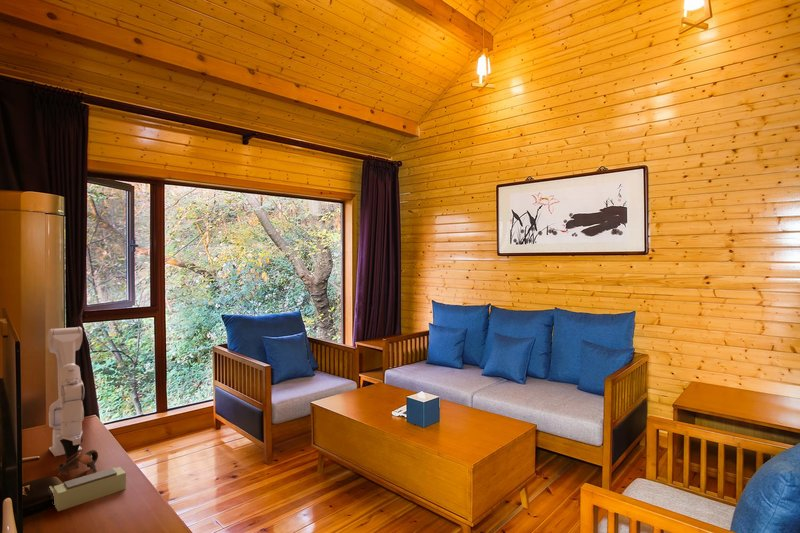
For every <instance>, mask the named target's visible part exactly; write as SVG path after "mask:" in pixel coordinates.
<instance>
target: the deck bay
mask: <svg viewBox="0 0 800 533" xmlns="http://www.w3.org/2000/svg"><path fill="white" fill-rule="evenodd" d="M49 488H50V490H51V491H52V493H53V496H54V504H53V506H54V505H55V506H54V508H55V509H56V510H57V512H61V511H64V510H67V509H70V508H72V507H76V506H79V505H81V504H85V503H88V502H91V501H94V500H97V499H101V498H103V497H107V496H109V495H112V494H116V493H118V492H121V491H125V490H127V472H126V471H125V470H124V469H123V468H122V467H120V466H118V467H110V468H107V469H104V470H100V471H97V472H96V473H93V474H90V475H86V474H85V475H83V476H81V477H80V476H79V477H77V478H72V479H69V480H66V481H63V483H60V484H57V485H53V486H52V485H49V487H48V489H49Z"/></svg>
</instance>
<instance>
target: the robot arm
mask: <svg viewBox="0 0 800 533" xmlns="http://www.w3.org/2000/svg"><path fill="white" fill-rule="evenodd" d="M47 331H48V332H47V342H48V350H49V352H50V354H51V353H52V354H55V357H56V360H57V381H58V382H57V388H58V390H57V391H58V392H57V393H58V399H57V400H55V401H54V402H52V404H50V406H49V408H48V427H50V428H53V429H52V446H50V447H48V448H49V451H50V452H51V453H52V454H53V456H54V457H59V456H62V455H65V458H66V459H65V460H67V459H68V458H69V457H71V456H72V455H74V454H76V453H78V451H79V452H80V451H82V450H83V448H82V447H81V444H82V442H83V441H84V438H83V437H82V435H83V433H84V432H83V421H84V418H85V410H84V404H83V400H84V399H85V386H84V382H83V380H82V377H81V376H82V375H81V370H80V369H81V368H80V366H79V365H77V364H76V351H79V350H80V349H81V345H82V343H83V327H81V326H77V327H76V326H75V327H64V328H61V327H60V328H50V329H48V330H47Z"/></svg>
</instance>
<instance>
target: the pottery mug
mask: <svg viewBox="0 0 800 533" xmlns="http://www.w3.org/2000/svg"><path fill="white" fill-rule="evenodd" d="M98 459H99V453H98V452H97V450H95V449H90V450H89V451H87V452H86V453H85V454H83V453H82V451H79V452H77V453H76V454H74V455H72V456H71V457H69V458H68V459H65V460H64V462H65V464H64V463H63V462H62V463H60V464H59V465H58V466H57V468H56V469H57V470H58V476H59V477H60V476H63V475H64V476H68V473H69V472H70V470H78V469H79V468H80V466H79V462H81V464H83V465H86V467H87V468H89V470H87V472H85V476H86V475H90V474H93V473H97V472H98V471H97V467H96V462H97V460H98Z"/></svg>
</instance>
